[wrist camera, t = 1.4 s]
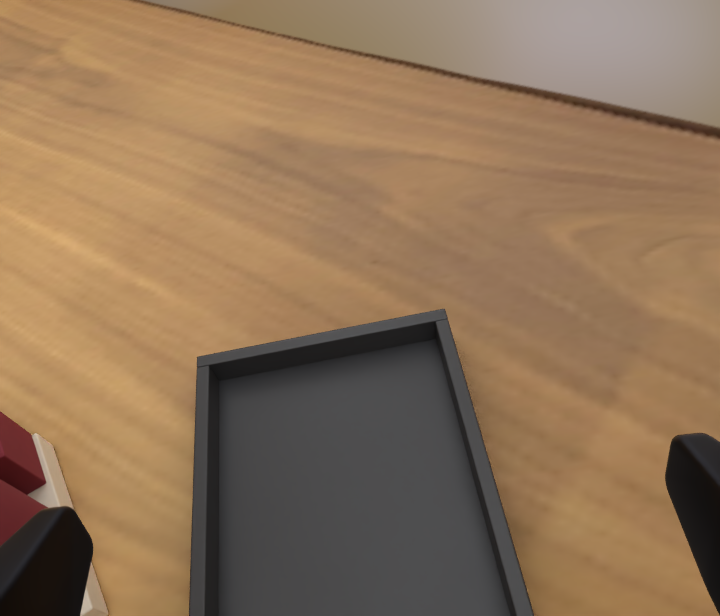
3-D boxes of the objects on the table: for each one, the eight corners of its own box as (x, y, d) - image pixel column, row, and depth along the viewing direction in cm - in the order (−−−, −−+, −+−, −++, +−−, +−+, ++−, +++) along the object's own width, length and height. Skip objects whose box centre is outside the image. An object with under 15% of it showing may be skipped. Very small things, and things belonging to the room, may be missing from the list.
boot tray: (561, 740, 19) (570, 739, 17) (204, 804, 19) (181, 809, 18) (445, 332, 29) (444, 308, 27) (211, 378, 29) (196, 356, 27)
